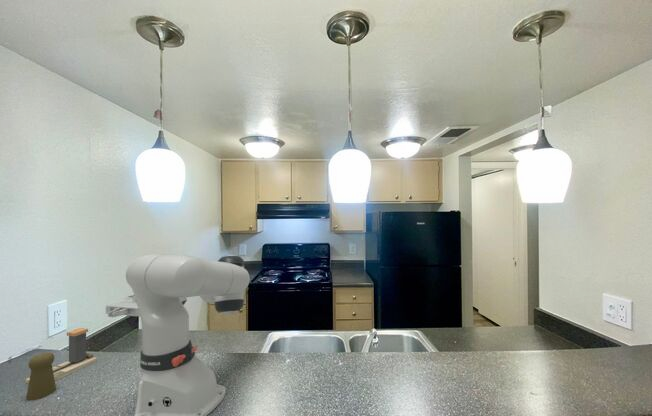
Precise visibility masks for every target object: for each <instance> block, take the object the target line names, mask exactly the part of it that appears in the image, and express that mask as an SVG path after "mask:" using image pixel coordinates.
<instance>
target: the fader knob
mask: <svg viewBox="0 0 652 416" xmlns="http://www.w3.org/2000/svg"><path fill="white" fill-rule="evenodd" d="M88 332H89V328H83V327H79V328H75V329H73V330H69V331H68V332H67V331H66V336H67V337H68V361H69V362H73V363H76V362H79V361H81V360H83V359H85V358H86V353H87V333H88Z"/></svg>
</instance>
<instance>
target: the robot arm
mask: <svg viewBox="0 0 652 416" xmlns="http://www.w3.org/2000/svg"><path fill="white" fill-rule="evenodd" d="M245 267H246V265H245V259H243V258H242V257H241V256H239V255H236V254H228V255H224V256H221V257H220V258H219V259H218V260H210V259H204V258H201V257H195V256H191V255H185V254H165V253H164V254H163V253H151V254H146V255H143V256H140V257H137V258H135V259H134V260H132V262H131V263H129V265H128V266H127V268H126V271H125V279H126V283H127V284H128V285H129V287H130V288H131V290H132V292H133V295H128V296H126V297H125V298H121V299H119V300H116V301H113V302H110V303H108V304H106V306H105V314H107V316H108V317H109V318H116V317H120V316H121V317H122V316H131V317H138V318H140V322H141V342H142V343H141V345H142V347H141V348H142V350H141V351H140V357H139V364H140V365H139V367H140V368H141V375H140V379H139V383H138V389H137V398H136V399H137V400H136V401H137V402H136V405H135V407H134V411H135V414H134V415H133V416H209V414H211V412H213V411H214V410H215V408H217V406H219V405H220V404H221V402H222V401H223V400H224V398H225V396H226V394H227V388H226V386H224V385H222V384H218V383H217V377H216V374H215V371H214V370H213V369H212V368H210V366H209V365H208V364H207V363H204V361H202V360H201V359H200V358H198V356H197V355H196V351H197V350H198V347H199V345H195V346H194V345H193V344H192V340H191V339H190V317H189V312H188V310H187V308H186V307H185V305H186V303H187V301H188V300H187V299H188V298H192V297H193V298H194V297H200V298H201V299H202V301H204V302H206V303H209V304H214V309H215V311H216V312H217V313H219V314H223V315H226V316H227V315H228V316H229V315H232V314H236V313H238V312H240V311H241V310H242V309H243V307H244V304H245V299H244V298H245V290H246V289H247V288H248V286H249V284H250V281H251V280H250V279H251V278H250V274H249V272H248V270H247V269H246V268H245Z"/></svg>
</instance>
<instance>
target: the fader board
mask: <svg viewBox="0 0 652 416" xmlns="http://www.w3.org/2000/svg"><path fill="white" fill-rule="evenodd" d="M96 362H98V357H95V356H94V353H93V354H92V353H87V352H86V358H85V359H83V360H81V361H79V362H76V363H73V362H69V360H67V361H64V362H62V363H60V364H57V365H55V366H52V368H53V373H54V379H55V382H56V381H58V380H60V379H62V378H64V377H66V376H69V375H71V374H73V373H75V372H77V371H79V370H81V369H83V368H86V367H88V366H90V365H92V364H94V363H96ZM29 380H30V377H28V378H25V384H28V385H29Z"/></svg>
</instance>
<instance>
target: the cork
mask: <svg viewBox="0 0 652 416" xmlns="http://www.w3.org/2000/svg"><path fill="white" fill-rule="evenodd" d="M54 361H55V355H54V353H52V352H42V353H39V354H37V355H34V356H33V357H31V358H30V360H29V361H28V367H29V369H30V370H31V371H30V375H29V378H30V380H29V384H28V387H27V393H26V398H25V400H26V401H28V402H29V401H31V402H32V401H35V400H40V399H43V398H46V397H48V396H50V395H51V394H53V393H54V392H56V390H57V385H56V384H57V383H56V381H55V379H54V373H53V362H54Z"/></svg>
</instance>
